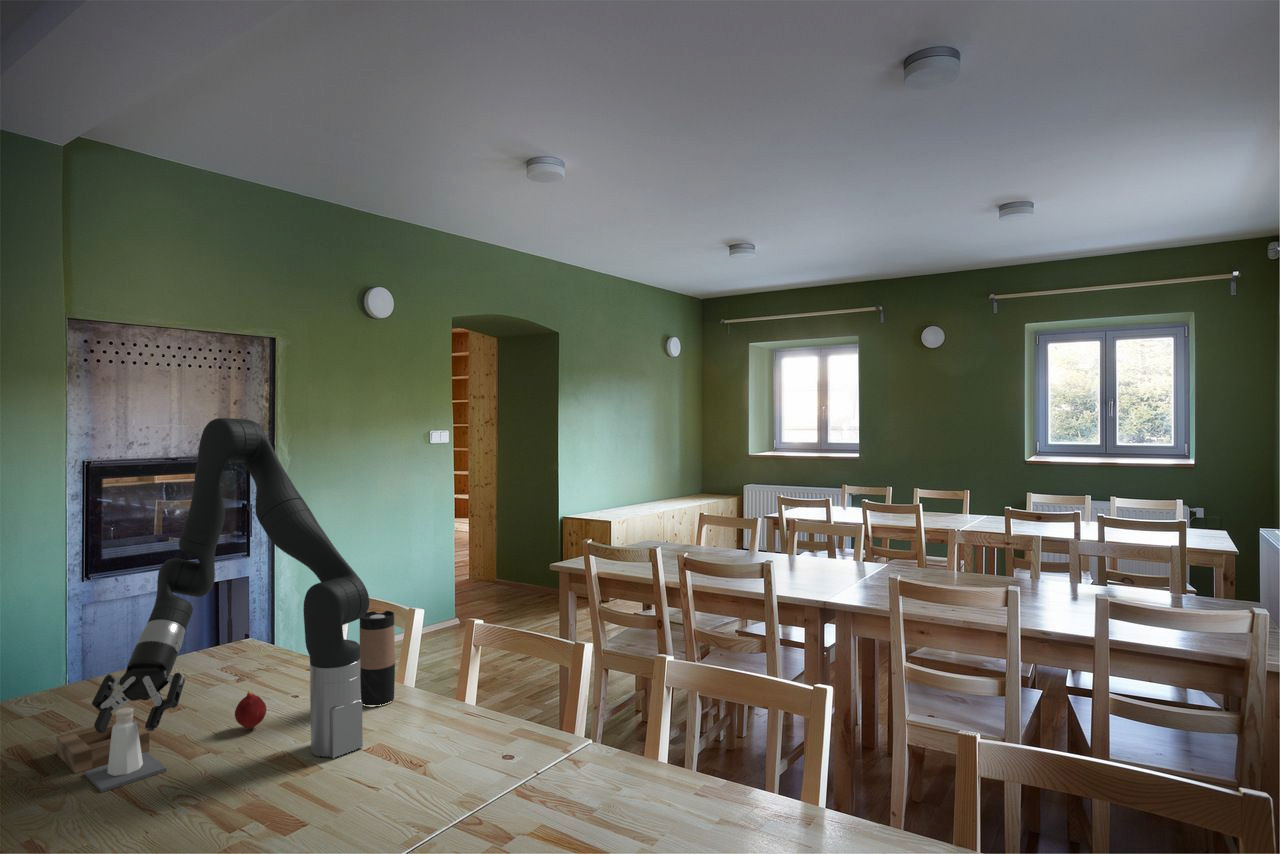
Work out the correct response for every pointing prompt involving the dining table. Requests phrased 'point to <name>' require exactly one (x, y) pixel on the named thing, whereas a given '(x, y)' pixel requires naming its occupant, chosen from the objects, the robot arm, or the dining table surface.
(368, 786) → the dining table surface
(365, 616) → the travel mug
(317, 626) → the robot arm
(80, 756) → the socket block
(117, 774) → the pepper shaker
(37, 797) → the dining table surface
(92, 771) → the rubber pad
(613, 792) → the dining table surface
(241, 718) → the onion
